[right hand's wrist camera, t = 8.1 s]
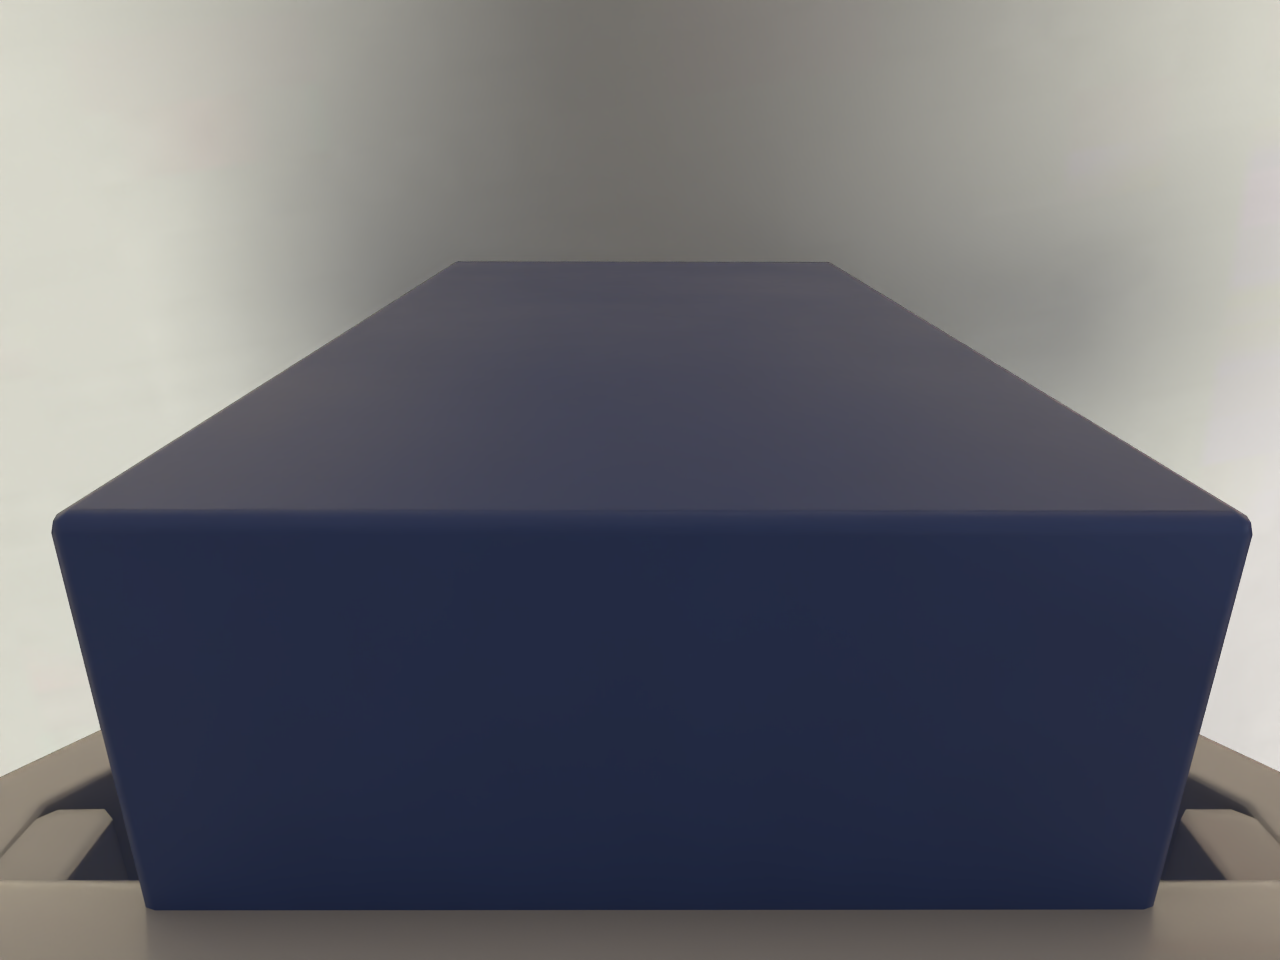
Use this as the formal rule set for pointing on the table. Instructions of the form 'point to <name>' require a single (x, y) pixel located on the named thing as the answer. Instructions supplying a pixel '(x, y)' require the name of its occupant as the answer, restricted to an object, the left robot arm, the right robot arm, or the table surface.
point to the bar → (649, 614)
